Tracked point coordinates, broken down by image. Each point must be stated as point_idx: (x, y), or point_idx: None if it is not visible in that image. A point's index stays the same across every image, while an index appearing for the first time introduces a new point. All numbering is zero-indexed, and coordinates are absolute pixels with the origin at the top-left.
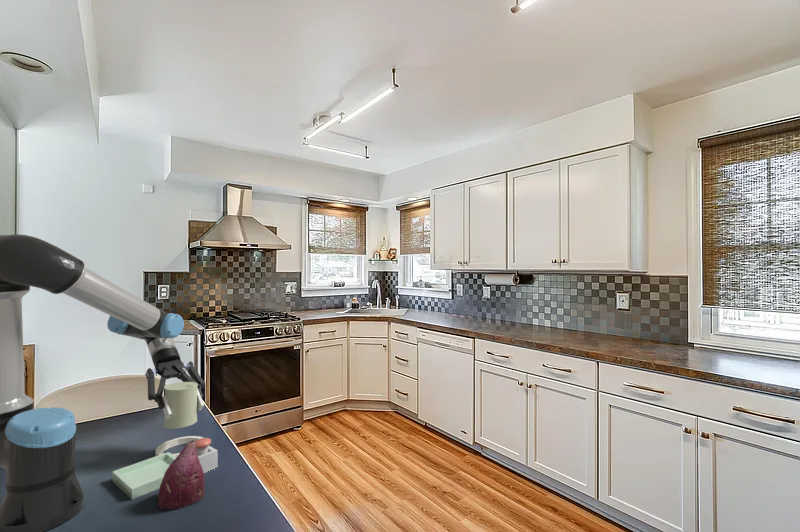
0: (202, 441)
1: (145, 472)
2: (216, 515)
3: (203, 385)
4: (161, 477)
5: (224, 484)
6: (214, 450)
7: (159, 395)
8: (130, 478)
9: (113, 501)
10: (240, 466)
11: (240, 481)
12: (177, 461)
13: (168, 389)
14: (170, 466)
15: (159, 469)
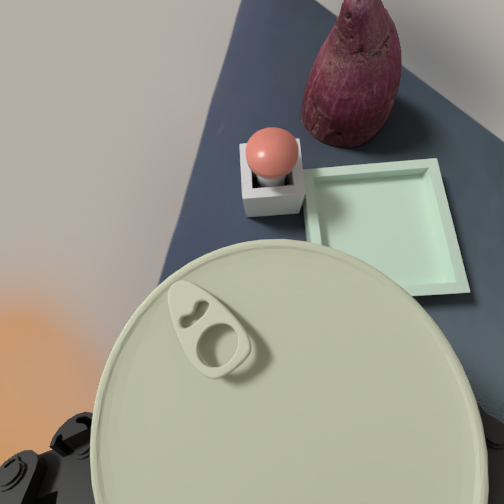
0: (270, 149)
1: (386, 249)
2: (316, 28)
3: (35, 454)
4: (372, 165)
5: (265, 101)
6: (245, 149)
7: (490, 423)
8: (421, 245)
9: (454, 191)
10: (207, 143)
11: (238, 91)
12: (390, 18)
13: (455, 365)
14: (398, 44)
15: (355, 239)
